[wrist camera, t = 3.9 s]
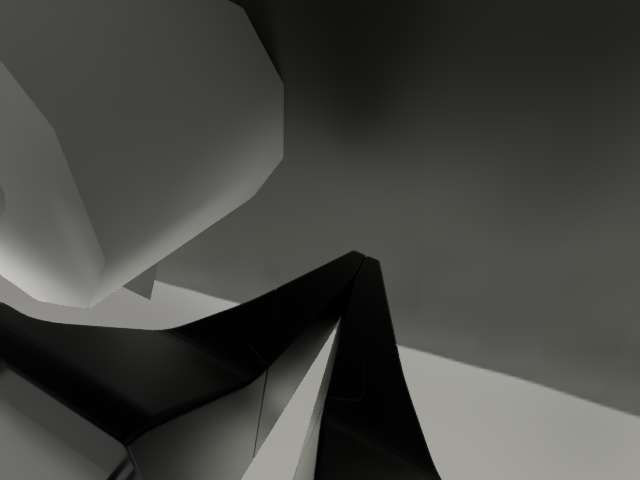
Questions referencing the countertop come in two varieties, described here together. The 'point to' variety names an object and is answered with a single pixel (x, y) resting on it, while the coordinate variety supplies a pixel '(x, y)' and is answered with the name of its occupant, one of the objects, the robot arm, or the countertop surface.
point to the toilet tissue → (125, 136)
